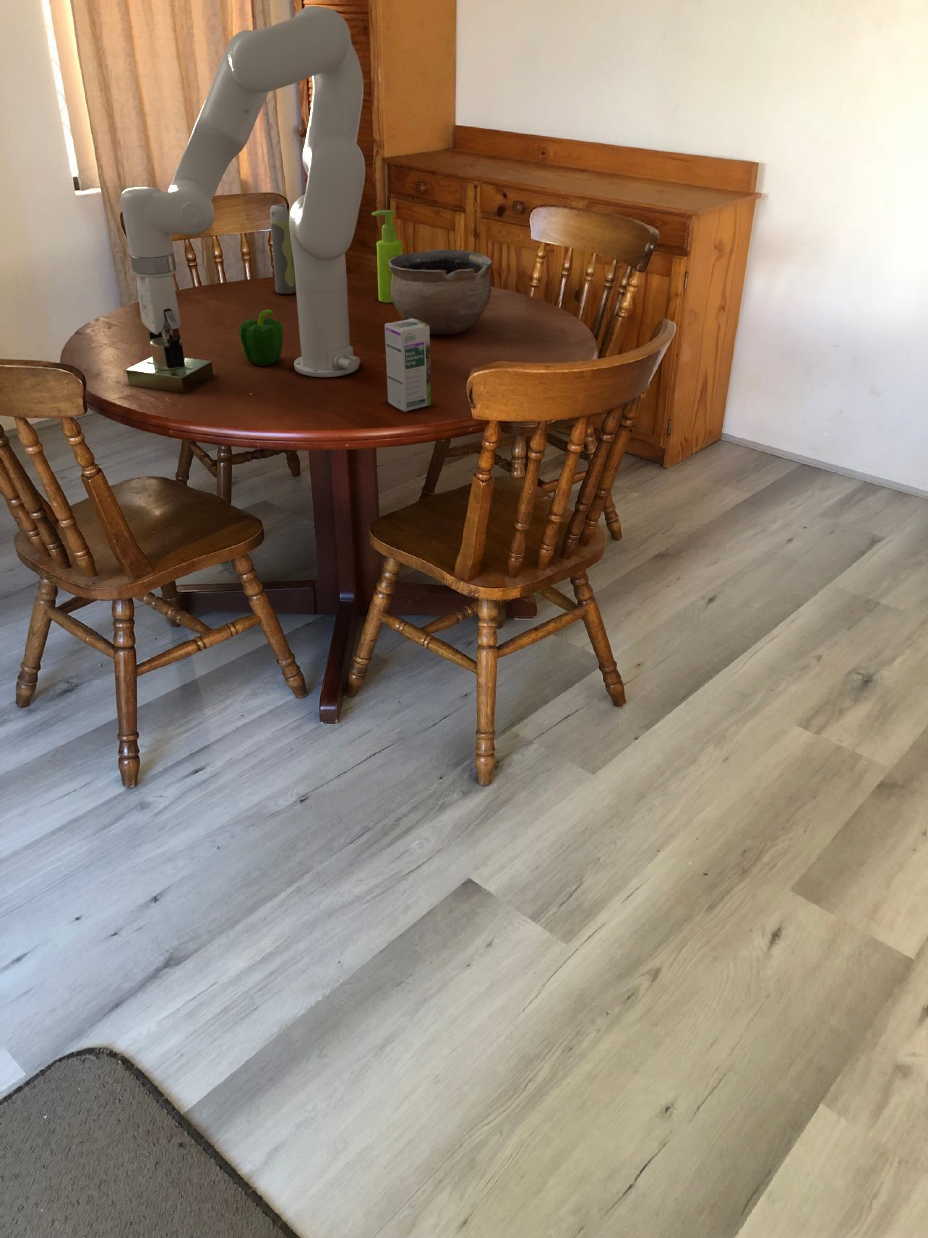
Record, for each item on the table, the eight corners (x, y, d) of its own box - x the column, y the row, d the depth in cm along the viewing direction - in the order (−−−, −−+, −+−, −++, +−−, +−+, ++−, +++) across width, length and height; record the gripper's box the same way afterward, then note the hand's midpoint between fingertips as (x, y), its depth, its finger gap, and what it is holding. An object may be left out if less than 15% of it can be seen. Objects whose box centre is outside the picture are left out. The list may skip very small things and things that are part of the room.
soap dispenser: (371, 297, 233) (367, 209, 222) (397, 295, 236) (395, 207, 225) (379, 304, 229) (376, 213, 218) (406, 301, 231) (405, 211, 220)
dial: (173, 371, 178) (169, 345, 175) (147, 367, 180) (143, 341, 177) (190, 362, 182) (187, 336, 180) (165, 358, 184) (161, 333, 181)
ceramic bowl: (430, 351, 199) (430, 276, 191) (370, 326, 213) (367, 255, 205) (511, 332, 211) (513, 260, 203) (448, 310, 225) (449, 242, 217)
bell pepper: (245, 370, 188) (239, 318, 183) (240, 357, 195) (235, 306, 189) (288, 367, 190) (283, 315, 185) (282, 354, 197) (278, 304, 191)
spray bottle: (271, 292, 236) (263, 204, 226) (286, 288, 240) (278, 201, 229) (285, 295, 234) (278, 207, 223) (300, 291, 237) (293, 204, 226)
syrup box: (404, 412, 170) (402, 329, 162) (386, 402, 174) (384, 321, 166) (431, 406, 173) (430, 324, 165) (413, 396, 177) (411, 316, 169)
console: (213, 376, 185) (211, 360, 183) (184, 393, 177) (181, 376, 175) (160, 368, 188) (157, 352, 187) (128, 385, 180) (125, 368, 179)
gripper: (119, 256, 176) (136, 349, 185) (145, 277, 163) (161, 376, 173) (160, 251, 179) (174, 344, 188) (189, 272, 167) (202, 369, 176)
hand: (168, 359), depth 180 cm, fingers open, 9 cm apart
